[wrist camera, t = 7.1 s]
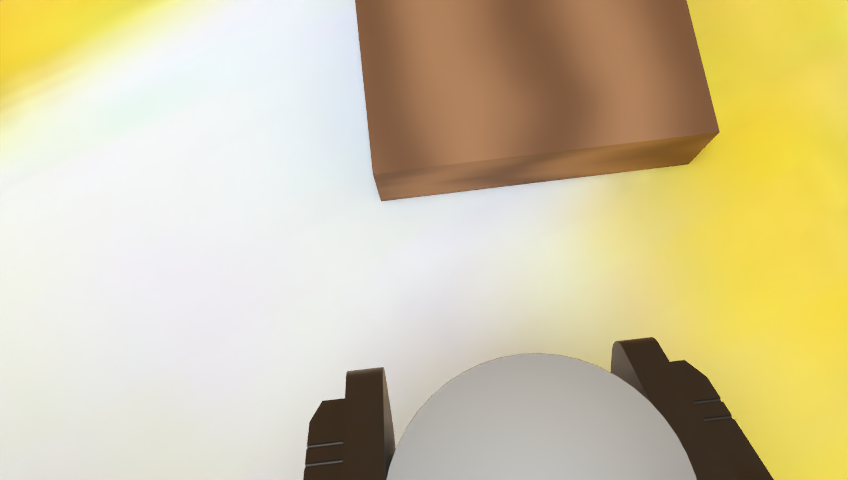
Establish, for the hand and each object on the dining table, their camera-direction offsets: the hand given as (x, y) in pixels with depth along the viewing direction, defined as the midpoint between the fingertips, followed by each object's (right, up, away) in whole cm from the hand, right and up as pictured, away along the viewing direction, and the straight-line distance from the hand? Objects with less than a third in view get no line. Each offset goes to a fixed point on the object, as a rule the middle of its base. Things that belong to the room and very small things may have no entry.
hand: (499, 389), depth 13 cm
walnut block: (+3, +12, +18) cm, 22 cm away
